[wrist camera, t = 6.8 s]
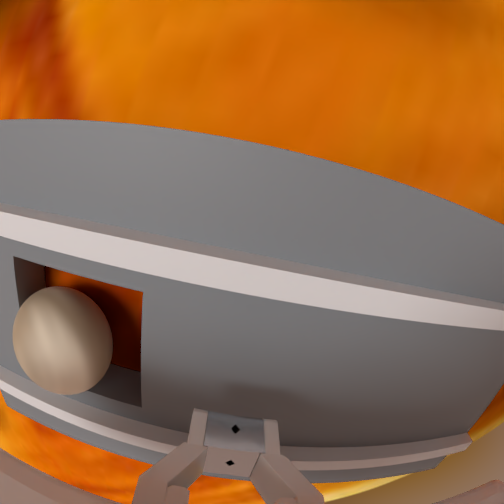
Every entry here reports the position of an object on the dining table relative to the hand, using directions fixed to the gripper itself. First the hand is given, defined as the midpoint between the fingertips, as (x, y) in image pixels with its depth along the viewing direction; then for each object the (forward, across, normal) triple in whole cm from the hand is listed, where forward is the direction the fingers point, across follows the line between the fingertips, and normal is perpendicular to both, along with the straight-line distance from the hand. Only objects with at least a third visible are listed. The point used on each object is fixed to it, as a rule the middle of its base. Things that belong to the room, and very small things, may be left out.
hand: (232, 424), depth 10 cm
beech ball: (+2, +8, 0) cm, 8 cm away
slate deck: (+5, -1, 0) cm, 5 cm away
